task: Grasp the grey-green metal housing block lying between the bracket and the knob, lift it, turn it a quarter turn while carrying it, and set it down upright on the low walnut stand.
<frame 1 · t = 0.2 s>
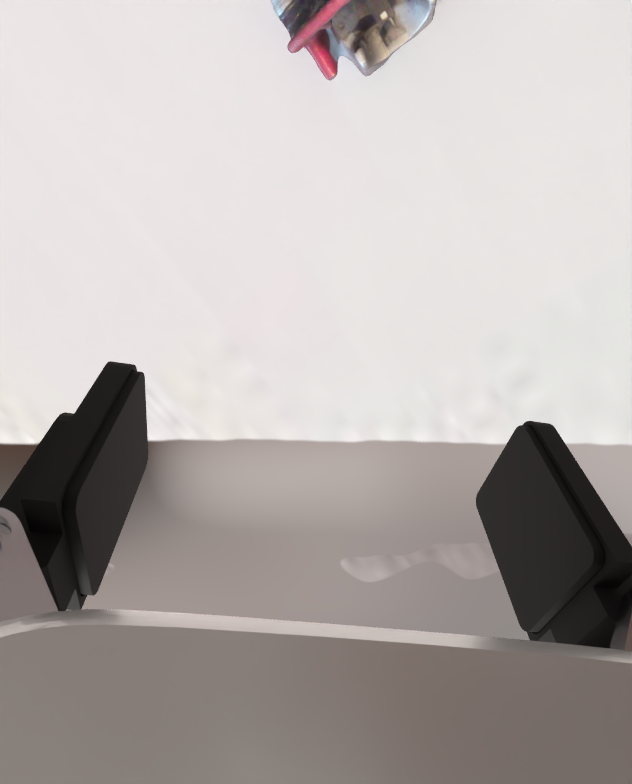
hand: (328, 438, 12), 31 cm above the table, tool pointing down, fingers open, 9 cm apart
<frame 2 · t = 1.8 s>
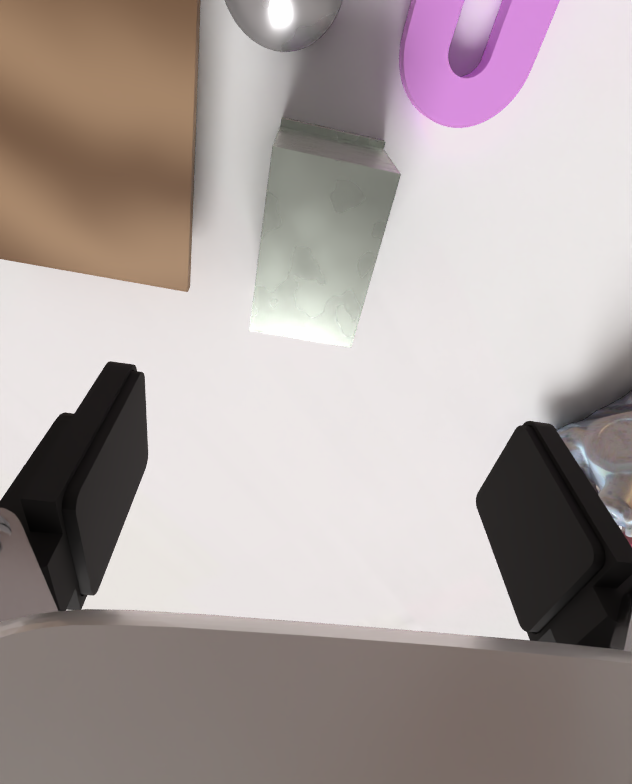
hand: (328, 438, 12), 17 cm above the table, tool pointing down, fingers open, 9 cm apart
brake caliper: (604, 425, 34), on the table
stand: (76, 127, 22), on the table
housing: (316, 218, 25), on the table
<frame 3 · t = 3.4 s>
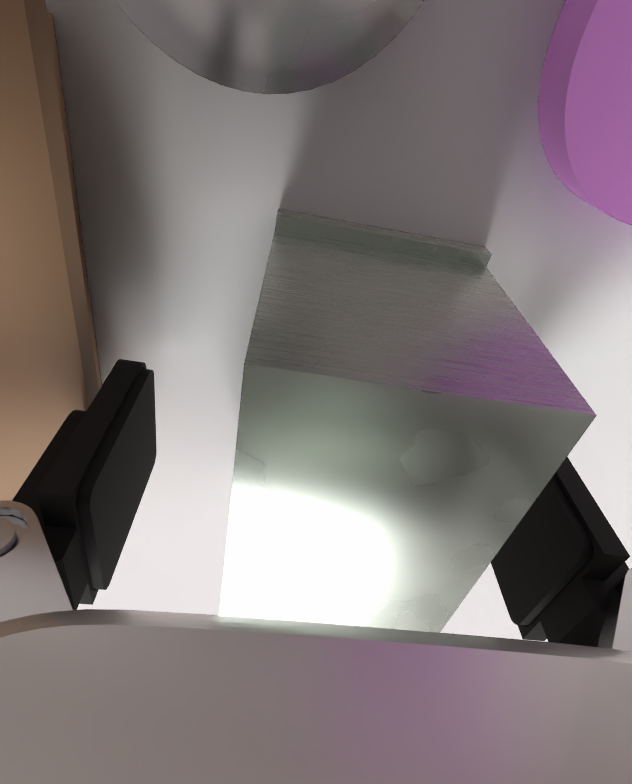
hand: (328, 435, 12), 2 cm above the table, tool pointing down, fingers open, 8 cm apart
housing: (345, 373, 13), on the table
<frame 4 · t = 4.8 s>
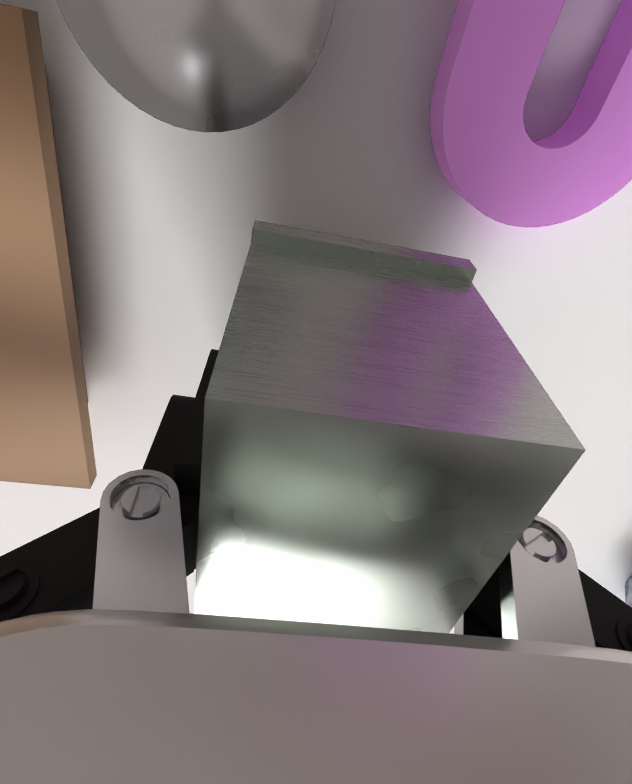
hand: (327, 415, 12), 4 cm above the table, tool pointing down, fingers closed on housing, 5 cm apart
housing: (327, 389, 13), point 3 cm above the table, touching gripper
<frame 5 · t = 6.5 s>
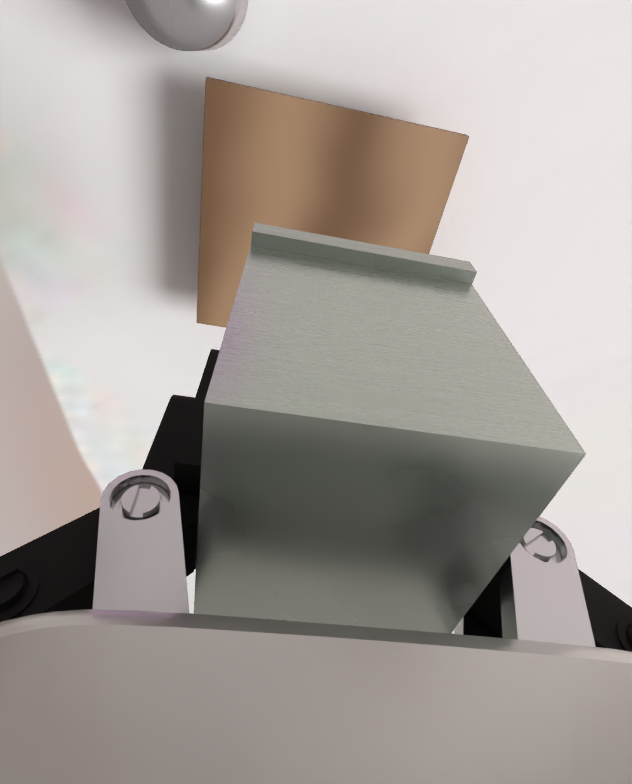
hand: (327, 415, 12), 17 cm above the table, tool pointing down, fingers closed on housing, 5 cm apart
stand: (316, 222, 26), on the table
housing: (327, 391, 13), point 17 cm above the table, touching gripper
when the fingers open (5 cm above the table, at t = 9.2 s): housing drops 1 cm, resting on stand.
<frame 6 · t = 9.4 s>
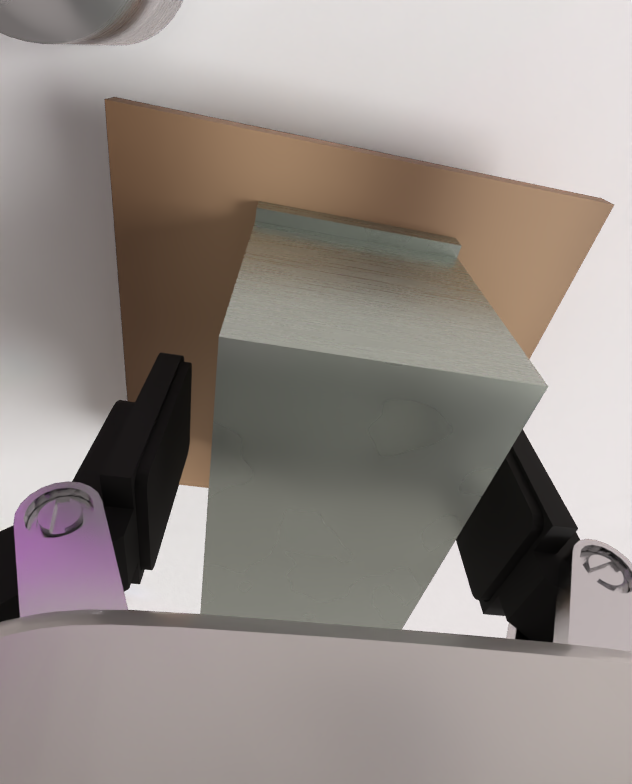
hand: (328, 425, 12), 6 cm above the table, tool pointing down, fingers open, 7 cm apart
stand: (323, 322, 16), on the table
housing: (325, 363, 14), point 3 cm above the table, touching stand
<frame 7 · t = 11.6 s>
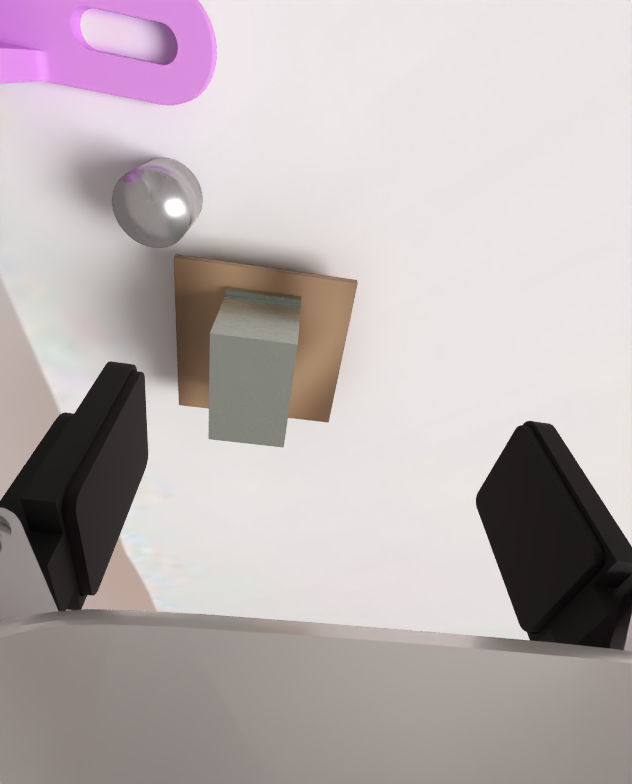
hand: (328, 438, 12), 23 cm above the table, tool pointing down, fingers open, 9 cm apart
bracket: (100, 30, 25), on the table
stand: (264, 330, 36), on the table
knob: (169, 194, 30), on the table
housing: (260, 346, 33), point 3 cm above the table, touching stand
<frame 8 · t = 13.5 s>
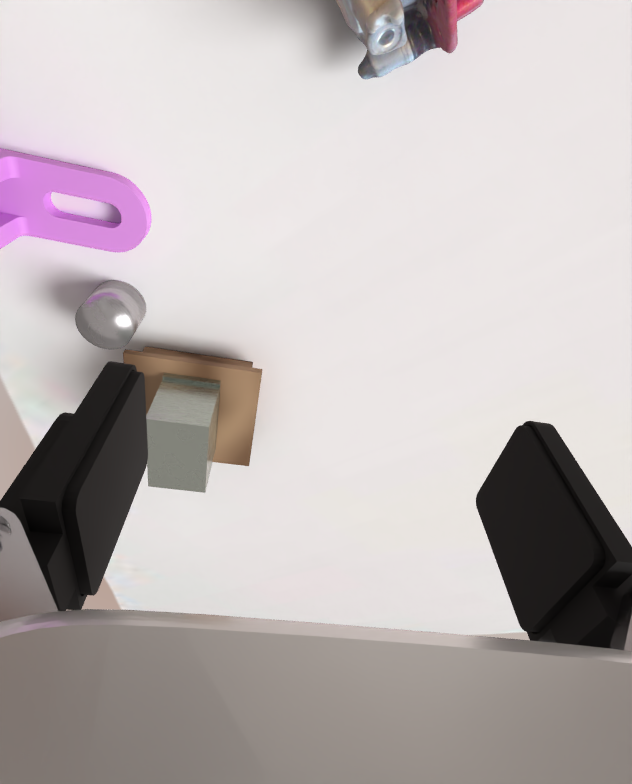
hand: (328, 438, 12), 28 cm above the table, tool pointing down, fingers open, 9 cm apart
bracket: (65, 199, 35), on the table
stand: (198, 395, 46), on the table
knob: (120, 303, 40), on the table
housing: (191, 413, 44), point 3 cm above the table, touching stand
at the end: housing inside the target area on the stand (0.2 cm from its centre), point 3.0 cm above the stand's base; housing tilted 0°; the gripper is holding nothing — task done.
